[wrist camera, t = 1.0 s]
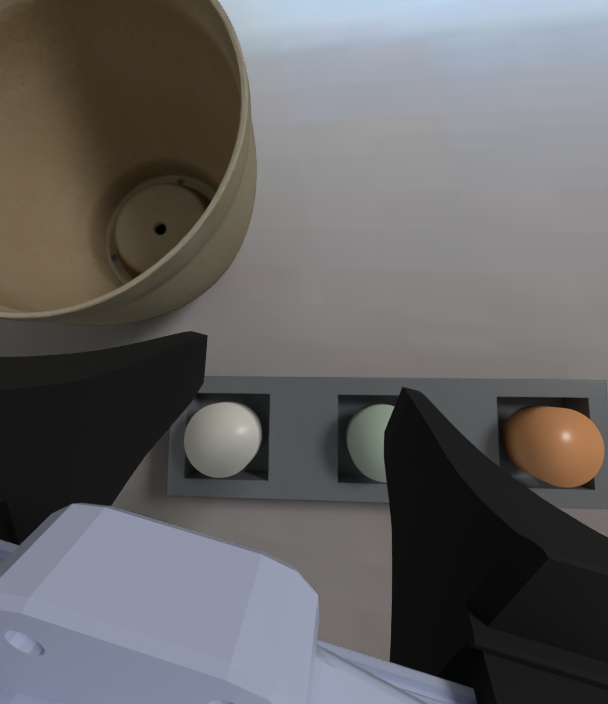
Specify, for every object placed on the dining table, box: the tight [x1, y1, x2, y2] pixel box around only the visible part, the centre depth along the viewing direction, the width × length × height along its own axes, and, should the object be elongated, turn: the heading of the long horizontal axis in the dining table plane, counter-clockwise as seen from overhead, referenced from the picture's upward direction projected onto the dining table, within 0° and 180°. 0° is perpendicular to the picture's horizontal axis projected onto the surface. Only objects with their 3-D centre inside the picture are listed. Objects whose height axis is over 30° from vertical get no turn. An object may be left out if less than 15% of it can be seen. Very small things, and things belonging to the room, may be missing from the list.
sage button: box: [346, 403, 394, 483], centre depth 18 cm, size 4×4×2 cm
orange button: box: [502, 405, 604, 488], centre depth 18 cm, size 4×4×2 cm
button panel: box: [166, 376, 608, 509], centre depth 20 cm, size 25×7×2 cm, turn 89°
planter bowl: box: [0, 0, 257, 325], centre depth 18 cm, size 16×16×11 cm
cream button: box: [184, 401, 263, 478], centre depth 19 cm, size 4×4×2 cm
